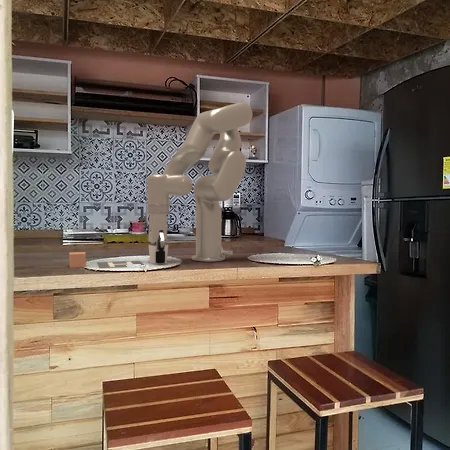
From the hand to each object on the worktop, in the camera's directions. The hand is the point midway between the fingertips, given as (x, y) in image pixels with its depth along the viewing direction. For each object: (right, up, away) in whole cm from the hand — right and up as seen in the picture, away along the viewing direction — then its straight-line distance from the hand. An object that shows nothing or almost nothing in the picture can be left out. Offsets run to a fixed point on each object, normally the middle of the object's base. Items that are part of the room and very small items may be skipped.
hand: (158, 261), depth 157 cm
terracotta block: (-25, -2, -9) cm, 27 cm away
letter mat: (-12, -1, -4) cm, 13 cm away
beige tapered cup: (0, -1, 0) cm, 1 cm away
